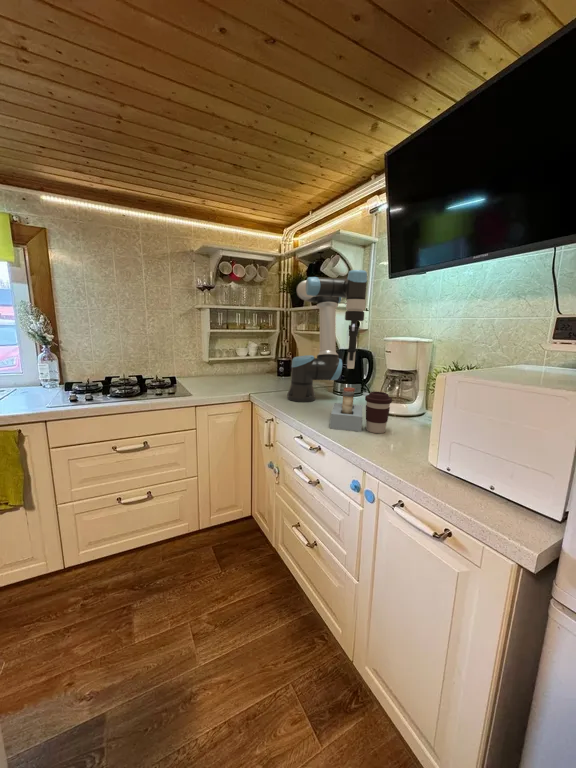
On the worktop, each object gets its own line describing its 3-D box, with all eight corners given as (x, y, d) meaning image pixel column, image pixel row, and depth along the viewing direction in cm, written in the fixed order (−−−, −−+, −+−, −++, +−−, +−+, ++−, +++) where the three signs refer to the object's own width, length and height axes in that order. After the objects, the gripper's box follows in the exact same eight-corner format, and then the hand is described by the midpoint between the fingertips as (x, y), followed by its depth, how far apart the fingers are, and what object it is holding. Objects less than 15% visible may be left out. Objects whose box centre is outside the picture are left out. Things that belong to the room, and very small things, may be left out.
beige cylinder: (341, 412, 130) (342, 391, 129) (352, 413, 129) (354, 392, 128) (340, 415, 126) (342, 393, 124) (352, 416, 125) (354, 394, 123)
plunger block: (333, 416, 143) (334, 403, 142) (361, 418, 140) (362, 405, 139) (329, 428, 126) (330, 413, 124) (361, 431, 123) (362, 416, 122)
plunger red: (342, 407, 139) (344, 386, 137) (353, 408, 138) (355, 387, 136) (342, 409, 135) (343, 389, 133) (353, 410, 134) (354, 389, 132)
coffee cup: (393, 430, 125) (396, 393, 123) (381, 436, 118) (385, 397, 115) (370, 424, 132) (373, 389, 129) (357, 430, 125) (360, 392, 122)
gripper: (346, 311, 139) (343, 364, 143) (344, 309, 120) (340, 369, 124) (364, 312, 137) (360, 365, 142) (364, 309, 118) (359, 371, 123)
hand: (350, 367), depth 133 cm, fingers open, 7 cm apart
